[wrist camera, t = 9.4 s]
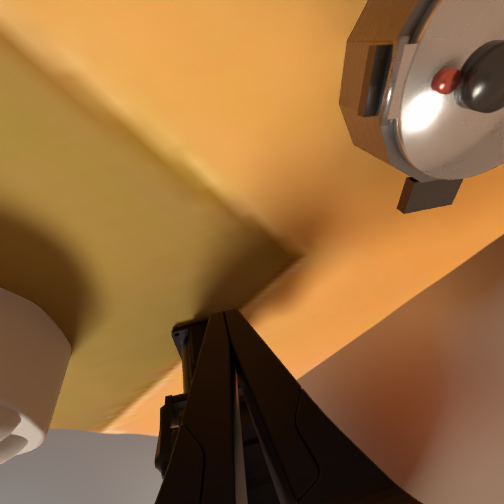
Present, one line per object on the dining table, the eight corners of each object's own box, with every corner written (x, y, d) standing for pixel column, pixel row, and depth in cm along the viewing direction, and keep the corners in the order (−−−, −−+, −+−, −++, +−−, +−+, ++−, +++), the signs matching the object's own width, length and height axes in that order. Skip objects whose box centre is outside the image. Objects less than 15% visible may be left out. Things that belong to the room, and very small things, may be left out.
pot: (453, 175, 24) (499, 196, 20) (317, 199, 22) (344, 227, 18) (596, -156, 13) (736, -220, 10) (356, -166, 11) (433, -250, 8)
